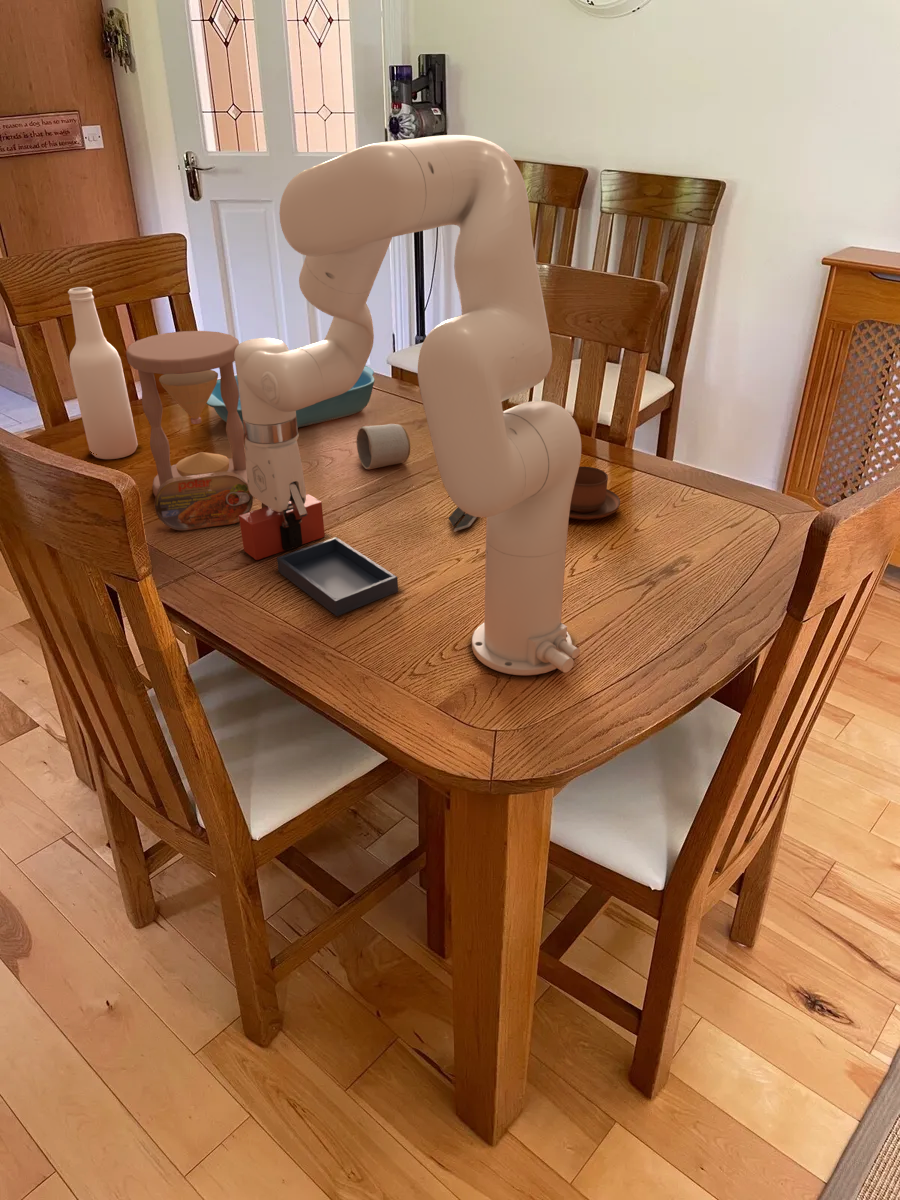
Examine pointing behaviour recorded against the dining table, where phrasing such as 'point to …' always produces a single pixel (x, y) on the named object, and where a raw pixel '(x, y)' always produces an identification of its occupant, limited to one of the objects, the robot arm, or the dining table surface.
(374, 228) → the robot arm
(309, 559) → the tray
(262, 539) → the bar
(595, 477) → the cup and saucer
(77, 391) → the alcohol
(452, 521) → the knife
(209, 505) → the tin
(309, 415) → the casserole dish
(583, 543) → the dining table surface
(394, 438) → the ceramic mug
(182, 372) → the hourglass
